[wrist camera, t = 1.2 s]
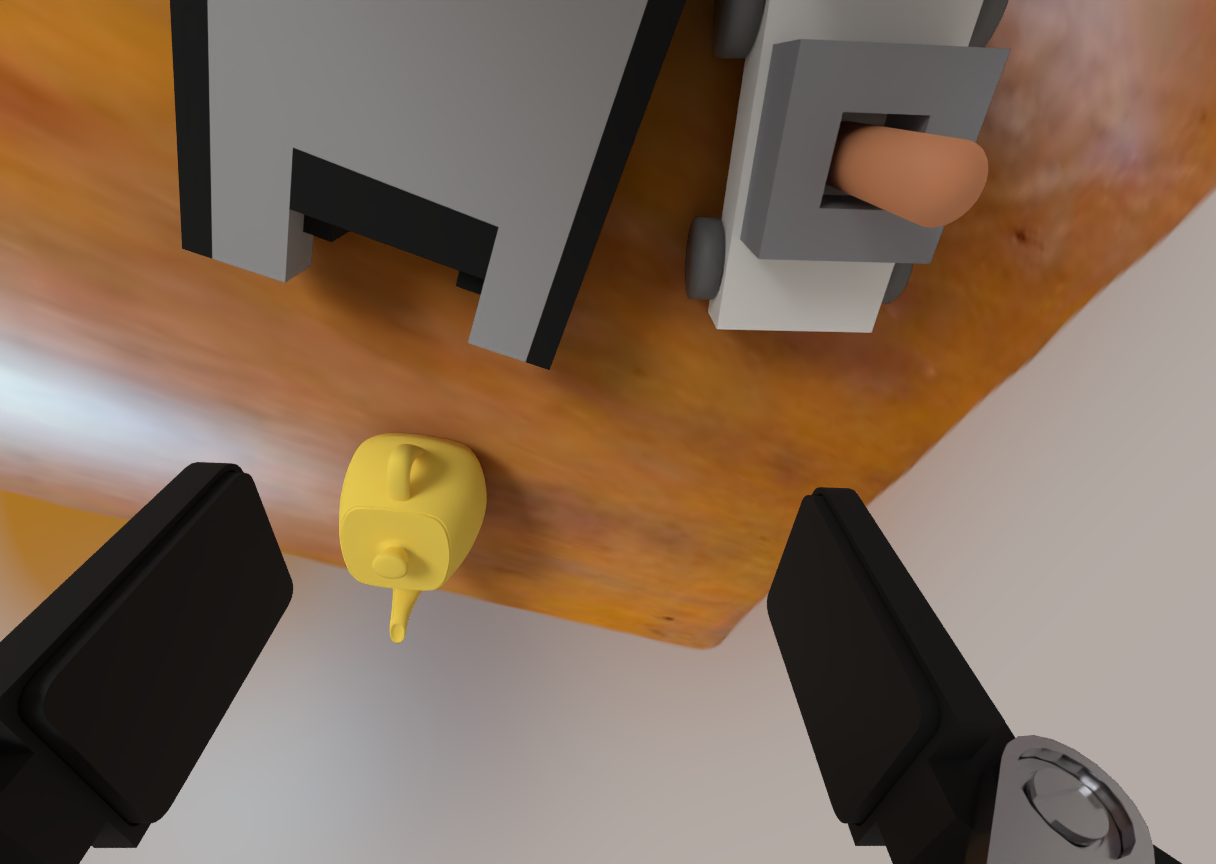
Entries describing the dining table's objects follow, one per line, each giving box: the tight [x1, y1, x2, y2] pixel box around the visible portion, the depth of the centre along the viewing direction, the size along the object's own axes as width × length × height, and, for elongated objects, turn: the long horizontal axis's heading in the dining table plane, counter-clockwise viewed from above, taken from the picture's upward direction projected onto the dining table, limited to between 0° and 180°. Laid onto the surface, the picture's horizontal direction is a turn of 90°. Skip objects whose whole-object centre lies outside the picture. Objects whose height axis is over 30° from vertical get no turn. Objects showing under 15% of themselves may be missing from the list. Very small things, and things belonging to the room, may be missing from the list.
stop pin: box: [826, 121, 988, 228], centre depth 24 cm, size 3×3×10 cm
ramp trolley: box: [685, 0, 1010, 333], centre depth 27 cm, size 20×13×14 cm, turn 178°
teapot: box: [339, 433, 487, 643], centre depth 42 cm, size 18×11×11 cm, turn 169°
